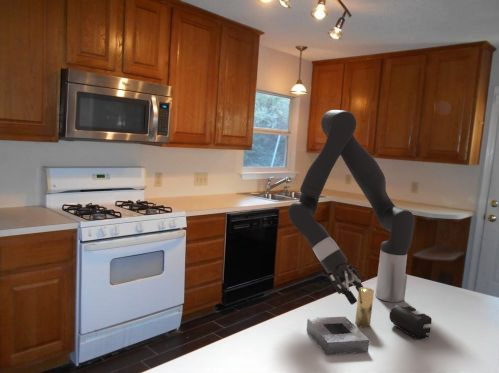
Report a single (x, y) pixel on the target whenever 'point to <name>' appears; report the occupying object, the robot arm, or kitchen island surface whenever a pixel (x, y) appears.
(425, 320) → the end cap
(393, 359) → the kitchen island surface
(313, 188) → the robot arm
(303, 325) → the kitchen island surface
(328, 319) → the jig
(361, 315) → the gold cylinder
